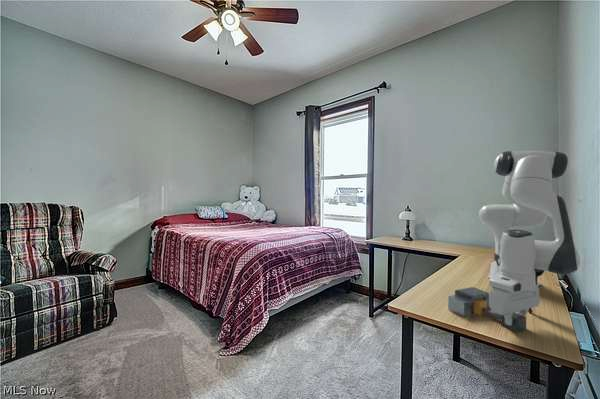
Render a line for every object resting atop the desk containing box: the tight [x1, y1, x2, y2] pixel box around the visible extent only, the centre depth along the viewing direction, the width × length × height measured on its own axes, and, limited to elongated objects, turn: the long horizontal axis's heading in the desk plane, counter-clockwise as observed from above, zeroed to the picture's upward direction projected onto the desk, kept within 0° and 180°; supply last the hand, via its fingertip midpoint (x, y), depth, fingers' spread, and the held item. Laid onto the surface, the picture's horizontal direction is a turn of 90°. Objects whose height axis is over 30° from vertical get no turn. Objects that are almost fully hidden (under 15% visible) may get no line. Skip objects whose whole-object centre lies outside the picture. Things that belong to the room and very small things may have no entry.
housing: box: [447, 286, 491, 318], centre depth 92 cm, size 17×6×7 cm, turn 112°
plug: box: [473, 298, 527, 333], centre depth 84 cm, size 4×14×4 cm, turn 22°
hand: (514, 322), depth 79 cm, fingers closed on plug, 4 cm apart
